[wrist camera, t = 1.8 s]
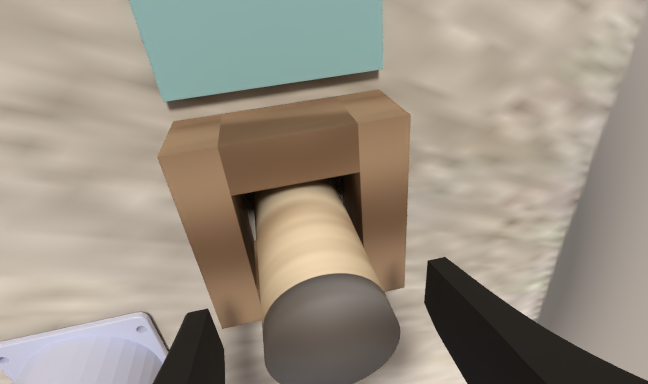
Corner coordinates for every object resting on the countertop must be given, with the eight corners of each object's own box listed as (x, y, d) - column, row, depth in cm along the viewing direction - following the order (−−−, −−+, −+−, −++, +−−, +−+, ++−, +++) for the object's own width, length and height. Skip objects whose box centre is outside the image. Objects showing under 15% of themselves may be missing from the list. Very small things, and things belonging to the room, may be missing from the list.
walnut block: (381, 243, 21) (404, 287, 18) (224, 276, 20) (222, 328, 17) (379, 89, 16) (410, 114, 13) (173, 121, 15) (157, 156, 12)
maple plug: (335, 216, 19) (398, 372, 12) (261, 231, 19) (277, 403, 11) (329, 149, 17) (401, 285, 10) (245, 164, 17) (251, 319, 9)
